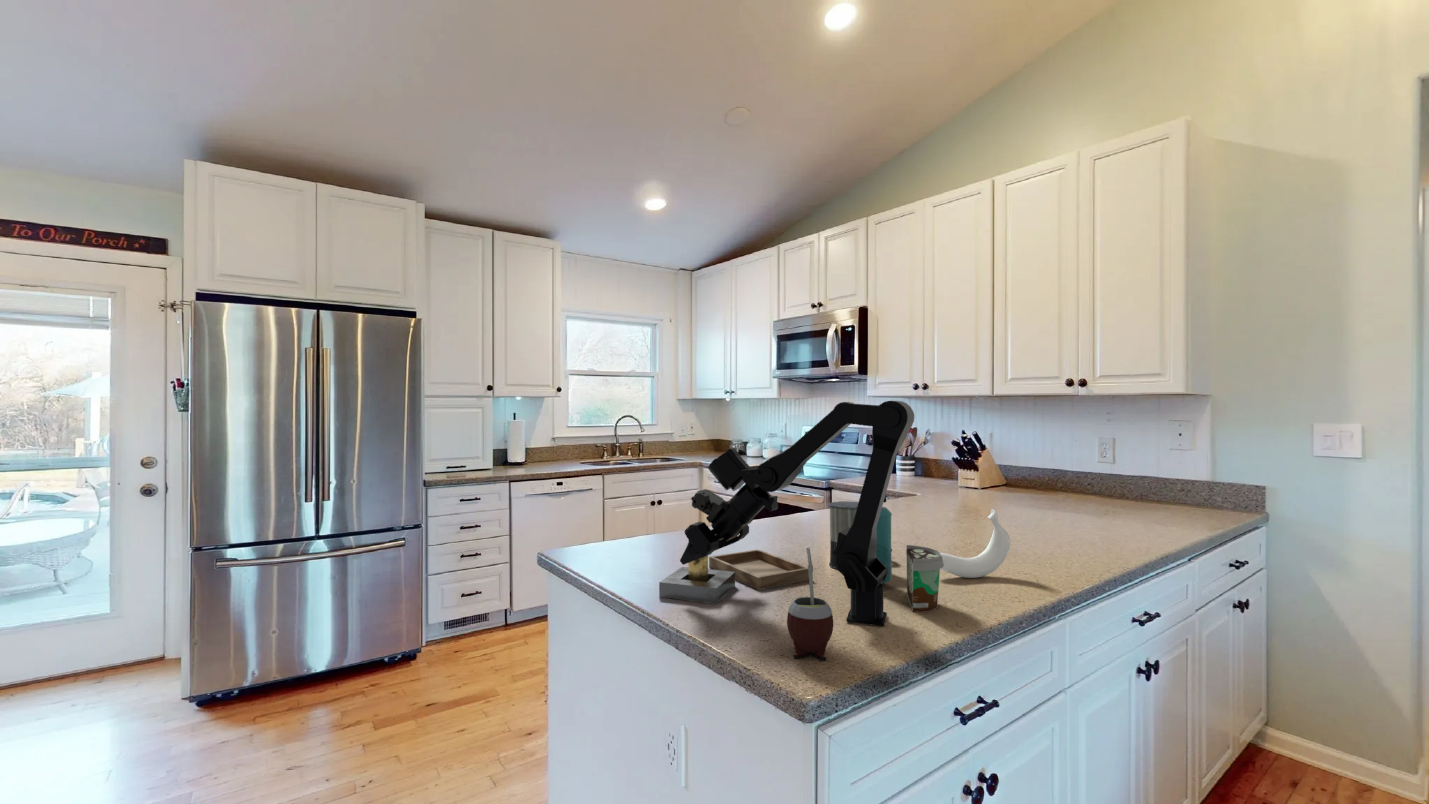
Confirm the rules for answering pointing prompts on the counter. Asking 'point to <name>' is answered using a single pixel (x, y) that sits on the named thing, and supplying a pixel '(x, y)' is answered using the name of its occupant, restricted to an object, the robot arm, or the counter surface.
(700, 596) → the grey square socket block
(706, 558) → the brass pin
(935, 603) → the food container
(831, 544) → the milk frother
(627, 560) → the counter surface
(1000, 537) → the banana
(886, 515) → the beverage bottle
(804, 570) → the walnut tray
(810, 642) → the mate gourd
